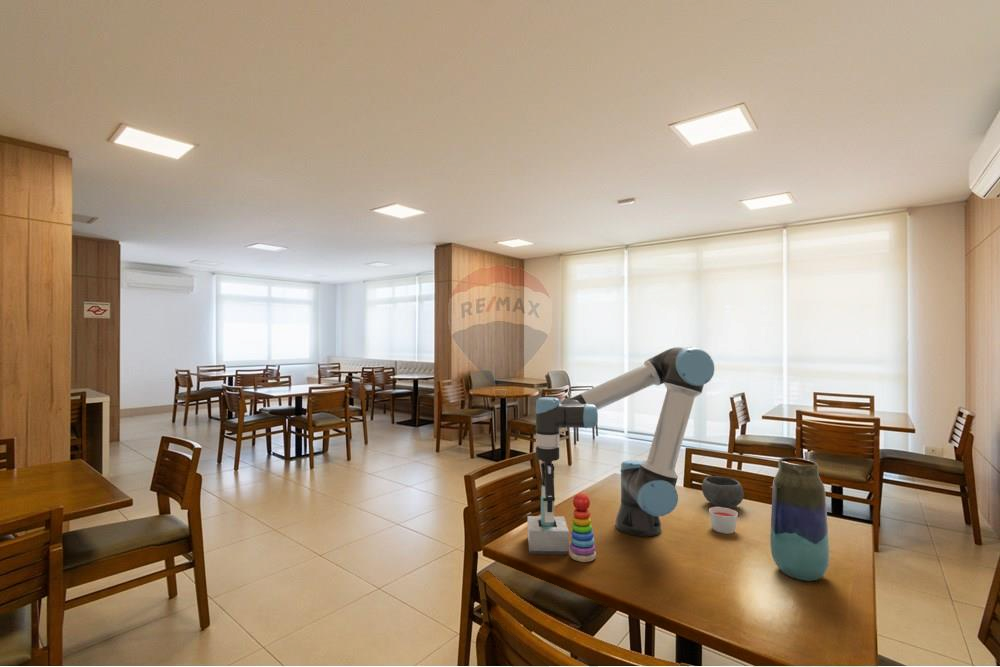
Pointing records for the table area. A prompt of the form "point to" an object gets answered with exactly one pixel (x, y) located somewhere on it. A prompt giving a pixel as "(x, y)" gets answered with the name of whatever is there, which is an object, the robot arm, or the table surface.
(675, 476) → the robot arm
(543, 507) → the peg
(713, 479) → the bowl
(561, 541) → the socket block
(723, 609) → the table surface
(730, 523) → the candle
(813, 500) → the vase
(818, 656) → the table surface
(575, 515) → the stacking toy
